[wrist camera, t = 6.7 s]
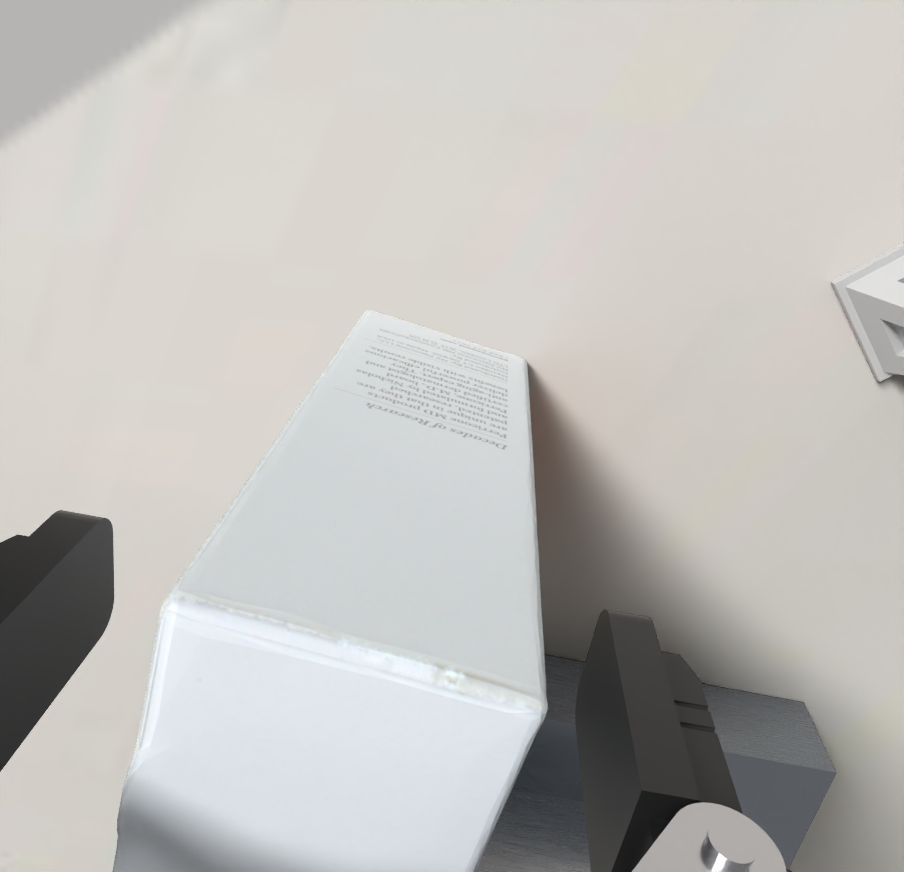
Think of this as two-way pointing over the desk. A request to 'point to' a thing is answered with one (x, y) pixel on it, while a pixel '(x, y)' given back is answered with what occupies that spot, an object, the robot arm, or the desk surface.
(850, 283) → the eiffel tower
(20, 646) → the robot arm
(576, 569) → the desk surface
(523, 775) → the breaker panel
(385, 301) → the desk surface
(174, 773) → the skincare box
